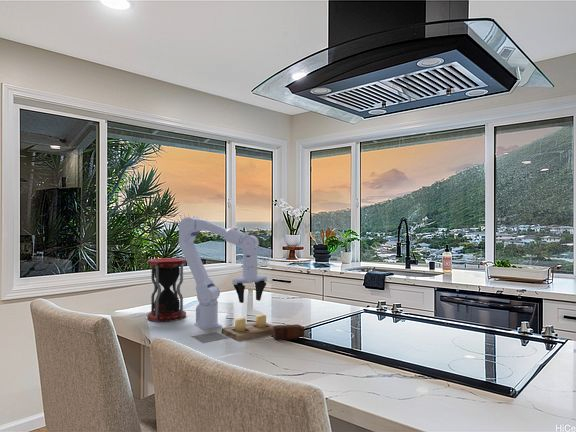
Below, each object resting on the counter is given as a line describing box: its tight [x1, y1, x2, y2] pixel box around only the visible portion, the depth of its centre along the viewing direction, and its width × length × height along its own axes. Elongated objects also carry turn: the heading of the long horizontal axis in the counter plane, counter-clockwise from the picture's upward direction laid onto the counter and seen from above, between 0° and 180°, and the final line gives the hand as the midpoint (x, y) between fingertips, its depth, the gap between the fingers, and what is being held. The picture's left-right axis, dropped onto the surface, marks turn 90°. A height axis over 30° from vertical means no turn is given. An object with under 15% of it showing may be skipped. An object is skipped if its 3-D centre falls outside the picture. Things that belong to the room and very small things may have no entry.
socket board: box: [221, 321, 275, 342], centre depth 154 cm, size 12×18×2 cm, turn 127°
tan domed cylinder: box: [255, 314, 267, 329], centre depth 157 cm, size 4×4×6 cm
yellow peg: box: [234, 317, 247, 333], centre depth 151 cm, size 4×4×6 cm
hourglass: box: [146, 257, 187, 323], centre depth 179 cm, size 16×16×25 cm
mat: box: [190, 331, 229, 344], centre depth 148 cm, size 10×10×1 cm
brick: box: [272, 324, 305, 341], centre depth 148 cm, size 11×4×5 cm, turn 106°
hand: (249, 301), depth 162 cm, fingers open, 7 cm apart
